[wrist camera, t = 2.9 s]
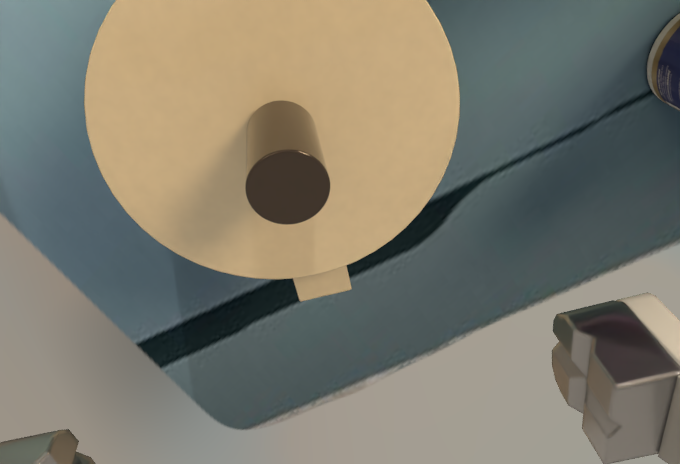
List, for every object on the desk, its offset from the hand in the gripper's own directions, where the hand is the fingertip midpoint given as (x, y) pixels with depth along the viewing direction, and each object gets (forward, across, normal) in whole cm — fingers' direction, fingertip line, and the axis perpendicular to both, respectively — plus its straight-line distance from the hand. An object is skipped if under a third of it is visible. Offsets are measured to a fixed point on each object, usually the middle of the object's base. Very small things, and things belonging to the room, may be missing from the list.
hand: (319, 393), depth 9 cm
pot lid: (+12, 0, 0) cm, 12 cm away
